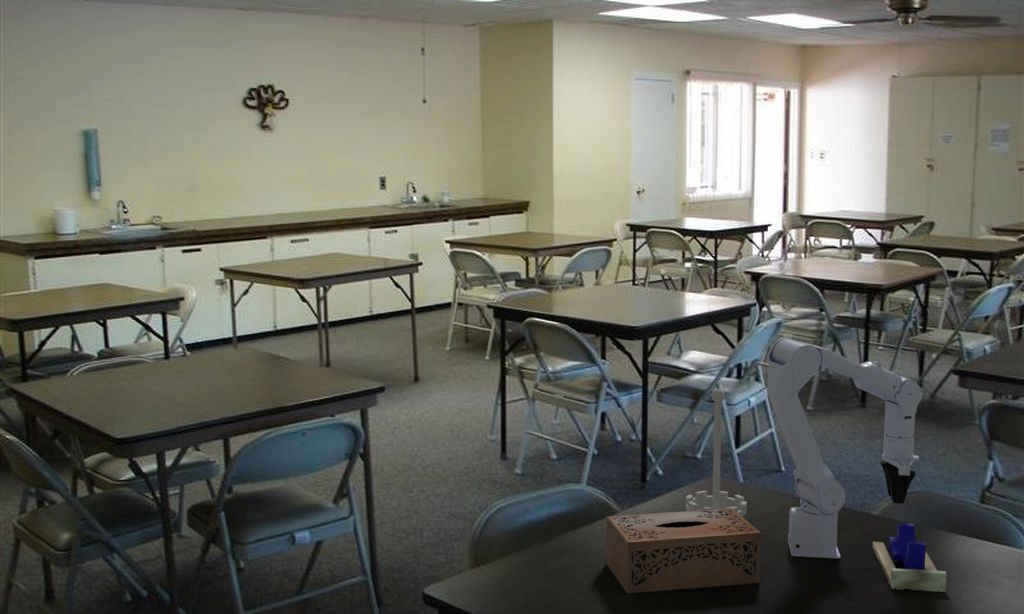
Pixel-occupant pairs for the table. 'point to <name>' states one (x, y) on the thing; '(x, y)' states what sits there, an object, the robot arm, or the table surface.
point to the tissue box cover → (682, 550)
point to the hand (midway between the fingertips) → (896, 499)
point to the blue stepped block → (907, 547)
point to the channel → (911, 573)
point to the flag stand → (716, 473)
